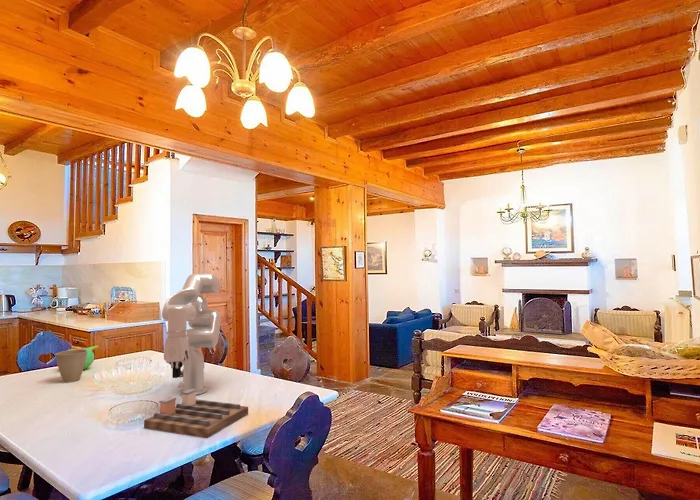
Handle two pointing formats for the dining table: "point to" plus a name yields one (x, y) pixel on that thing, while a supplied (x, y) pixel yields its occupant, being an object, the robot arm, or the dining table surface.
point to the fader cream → (189, 397)
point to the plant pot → (71, 364)
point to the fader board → (197, 418)
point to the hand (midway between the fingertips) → (176, 377)
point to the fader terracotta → (167, 406)
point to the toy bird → (89, 354)
